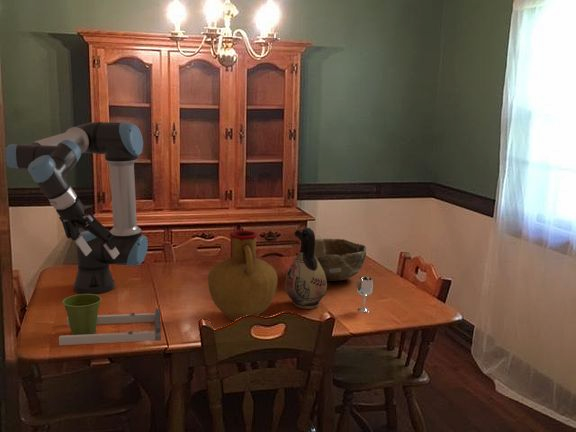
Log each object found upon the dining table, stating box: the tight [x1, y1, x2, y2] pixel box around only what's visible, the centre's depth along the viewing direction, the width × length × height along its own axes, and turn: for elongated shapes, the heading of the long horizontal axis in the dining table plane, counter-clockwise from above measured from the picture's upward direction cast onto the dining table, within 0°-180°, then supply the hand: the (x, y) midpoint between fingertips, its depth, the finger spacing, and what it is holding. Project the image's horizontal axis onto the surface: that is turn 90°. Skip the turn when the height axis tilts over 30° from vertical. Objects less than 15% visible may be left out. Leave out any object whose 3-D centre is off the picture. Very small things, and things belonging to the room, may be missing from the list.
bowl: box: [314, 238, 367, 282], centre depth 261 cm, size 28×27×15 cm
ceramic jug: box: [284, 227, 328, 310], centre depth 228 cm, size 17×15×30 cm
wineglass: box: [356, 276, 374, 313], centre depth 226 cm, size 6×6×12 cm
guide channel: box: [58, 308, 161, 346], centre depth 201 cm, size 30×18×4 cm, turn 101°
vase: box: [207, 230, 278, 321], centre depth 214 cm, size 24×24×30 cm
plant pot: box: [61, 293, 103, 335], centre depth 198 cm, size 12×12×11 cm
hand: (102, 254), depth 200 cm, fingers open, 13 cm apart
